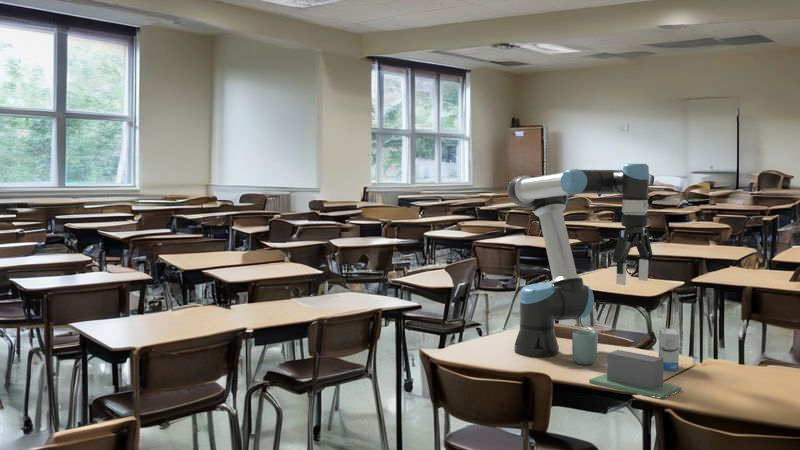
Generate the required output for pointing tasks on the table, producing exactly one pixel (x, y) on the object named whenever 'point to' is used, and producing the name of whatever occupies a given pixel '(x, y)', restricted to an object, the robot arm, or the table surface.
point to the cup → (584, 347)
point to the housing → (635, 369)
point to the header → (658, 392)
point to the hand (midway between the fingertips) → (632, 282)
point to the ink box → (669, 349)
